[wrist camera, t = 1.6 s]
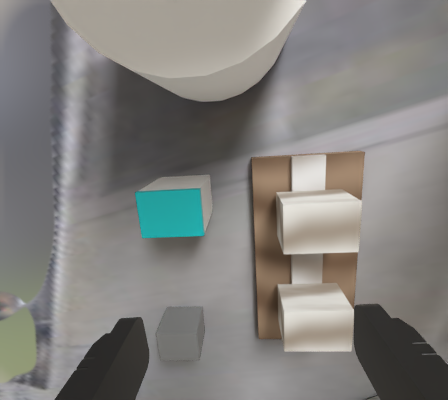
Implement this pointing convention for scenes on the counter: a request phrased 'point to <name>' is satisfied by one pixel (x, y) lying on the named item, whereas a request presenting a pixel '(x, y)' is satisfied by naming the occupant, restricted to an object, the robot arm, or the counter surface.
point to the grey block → (181, 333)
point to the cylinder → (187, 40)
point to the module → (175, 206)
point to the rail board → (267, 231)
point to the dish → (374, 398)
